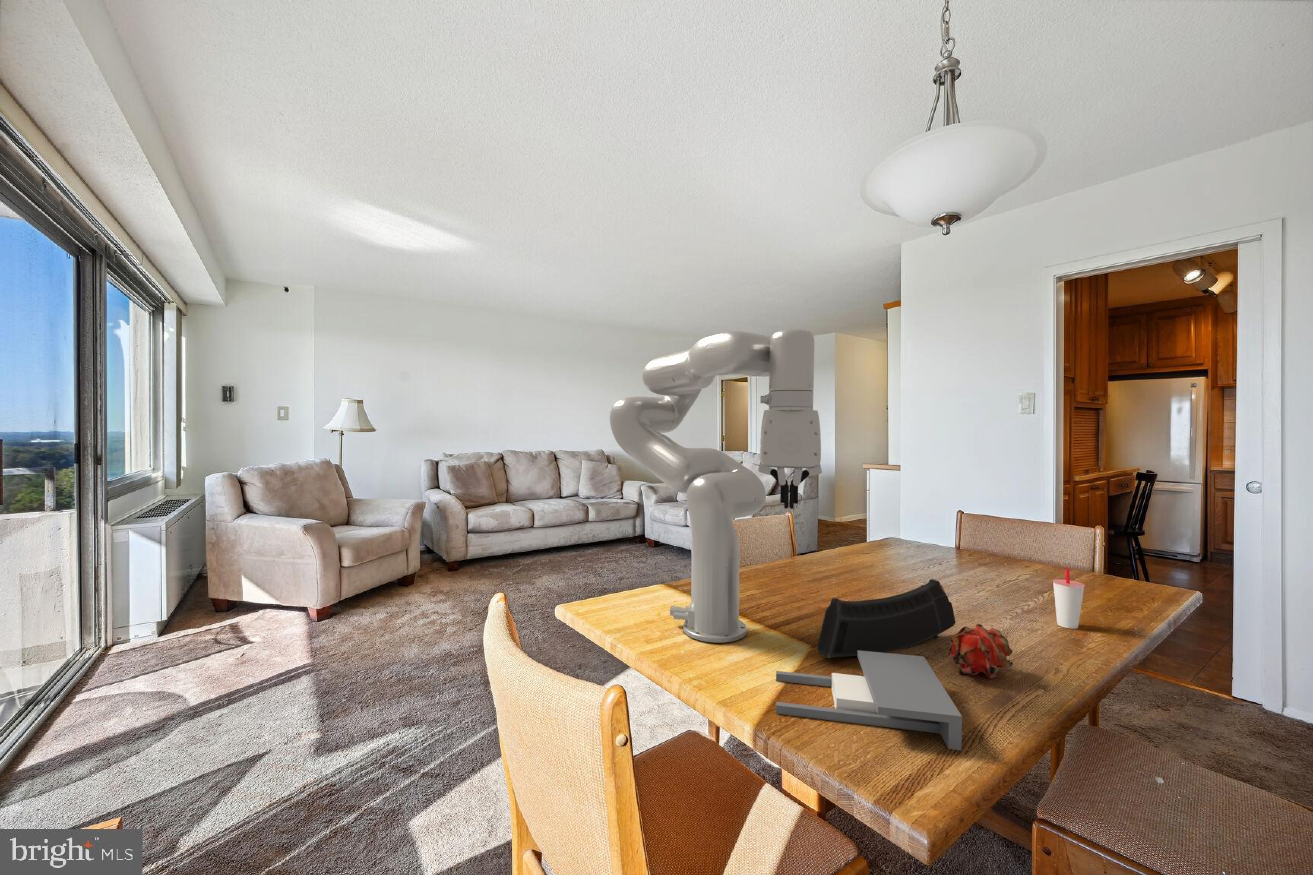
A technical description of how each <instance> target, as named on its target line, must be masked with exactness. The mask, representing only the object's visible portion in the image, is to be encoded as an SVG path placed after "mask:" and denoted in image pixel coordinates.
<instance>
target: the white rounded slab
mask: <svg viewBox="0 0 1313 875" xmlns="http://www.w3.org/2000/svg"><path fill="white" fill-rule="evenodd" d="M831 677H832V687H831V692H832V697H833V698H832V699H833V704H834V709H842V710H851V711H860V712H868V713H877V710H876V708H875V705H874V702H873V699H872V696H871V693H870V691H869V688H868V685H867V682H866V679H865V676H864V675H855V674H846V673H845V674H844V673H838V672H831ZM877 714H878V713H877Z"/></svg>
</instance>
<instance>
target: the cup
mask: <svg viewBox="0 0 1313 875" xmlns="http://www.w3.org/2000/svg"><path fill="white" fill-rule="evenodd" d="M1064 571H1065V573H1064V574H1065V579H1052V582H1053V584H1052V585H1053V593H1054V595H1053V596H1054V604H1055V615H1056V624H1057V625H1058V626H1060V627H1062V628H1066V629H1071V630H1072V629H1073V630H1074V629H1078V628H1079V623H1080V619H1081V611H1082V603H1083V598H1084V591H1085V586H1086V585H1085V584H1084V583H1082V582H1078V581H1073V580H1070V568H1066V569H1065V570H1064Z"/></svg>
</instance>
